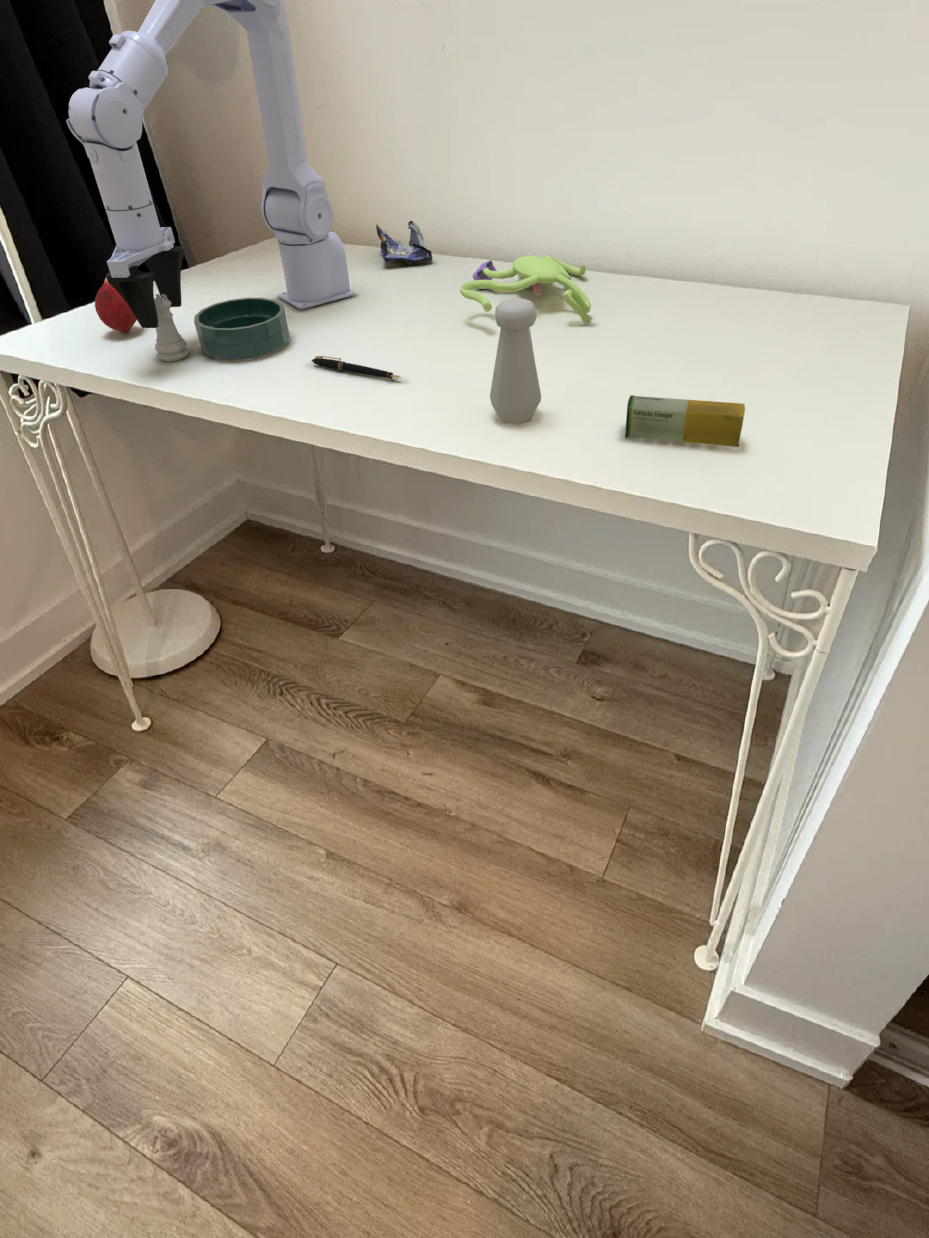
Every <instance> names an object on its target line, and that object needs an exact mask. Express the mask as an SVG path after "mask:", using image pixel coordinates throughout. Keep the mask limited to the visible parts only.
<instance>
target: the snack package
mask: <svg viewBox="0 0 929 1238" xmlns="http://www.w3.org/2000/svg"><path fill="white" fill-rule="evenodd" d="M407 226H408V230H410V235H409V236H410V237H409V241H408V245H407V244H406V243H404V242H402V241H400V240H395V239H394V238H393V237H392V236H390V235H389V234H388V233H387V231H386V230H383V229H382V228H381V227H380V226H379V225H378V224H375V229H376V234H377V236H378V238H379V240H380V241H381V242H380V251H381V256H382V258H383V260H384V263H390V262H392V261H393V262H394V261H400V260H402V261H404V262H406V263H407V266H413V265H418V264H422V263H425V262H432V261H433V254H432V251H431V250H429V249H427V248H426V247H425V244H424V241H425V239H424V235H423V233H422V232H421V230H420V227H419V226H418V225H417V224H416V223H415V222H414V221H413V220H410V221H408V223H407ZM388 267H389V266H388V265H387V266H386V268H388Z"/></svg>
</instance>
